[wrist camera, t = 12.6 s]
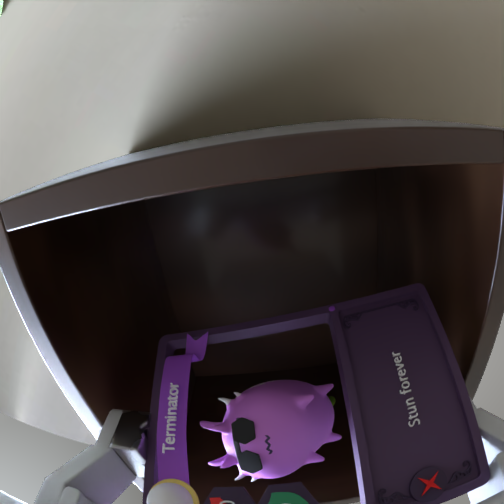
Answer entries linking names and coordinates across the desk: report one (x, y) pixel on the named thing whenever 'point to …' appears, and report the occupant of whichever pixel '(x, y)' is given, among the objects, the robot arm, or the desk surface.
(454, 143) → the case
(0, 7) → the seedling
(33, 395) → the desk surface
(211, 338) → the game card
